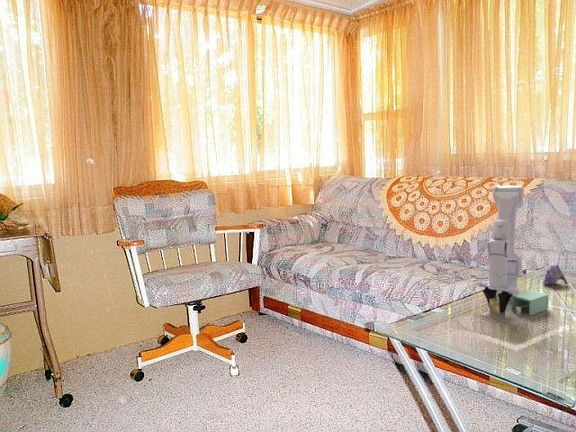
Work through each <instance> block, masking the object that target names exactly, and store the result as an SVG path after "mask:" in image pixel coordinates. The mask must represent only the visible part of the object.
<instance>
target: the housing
mask: <svg viewBox="0 0 576 432" xmlns="http://www.w3.org/2000/svg"><path fill="white" fill-rule="evenodd" d="M548 301H549V294H548V293H543V292H540V291H535V290H532V289H526V290H523V291H520V292H519V295H517V296H513V295H512V299H511V303H510V304H511V310H515V309H516V307H517V306H519V307H524V306H526V305H529V315H530V316H531V315H534V314H536V313H539V312H542V311H544V310H549V309H548V307H549V306H548V305H549V302H548Z"/></svg>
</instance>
